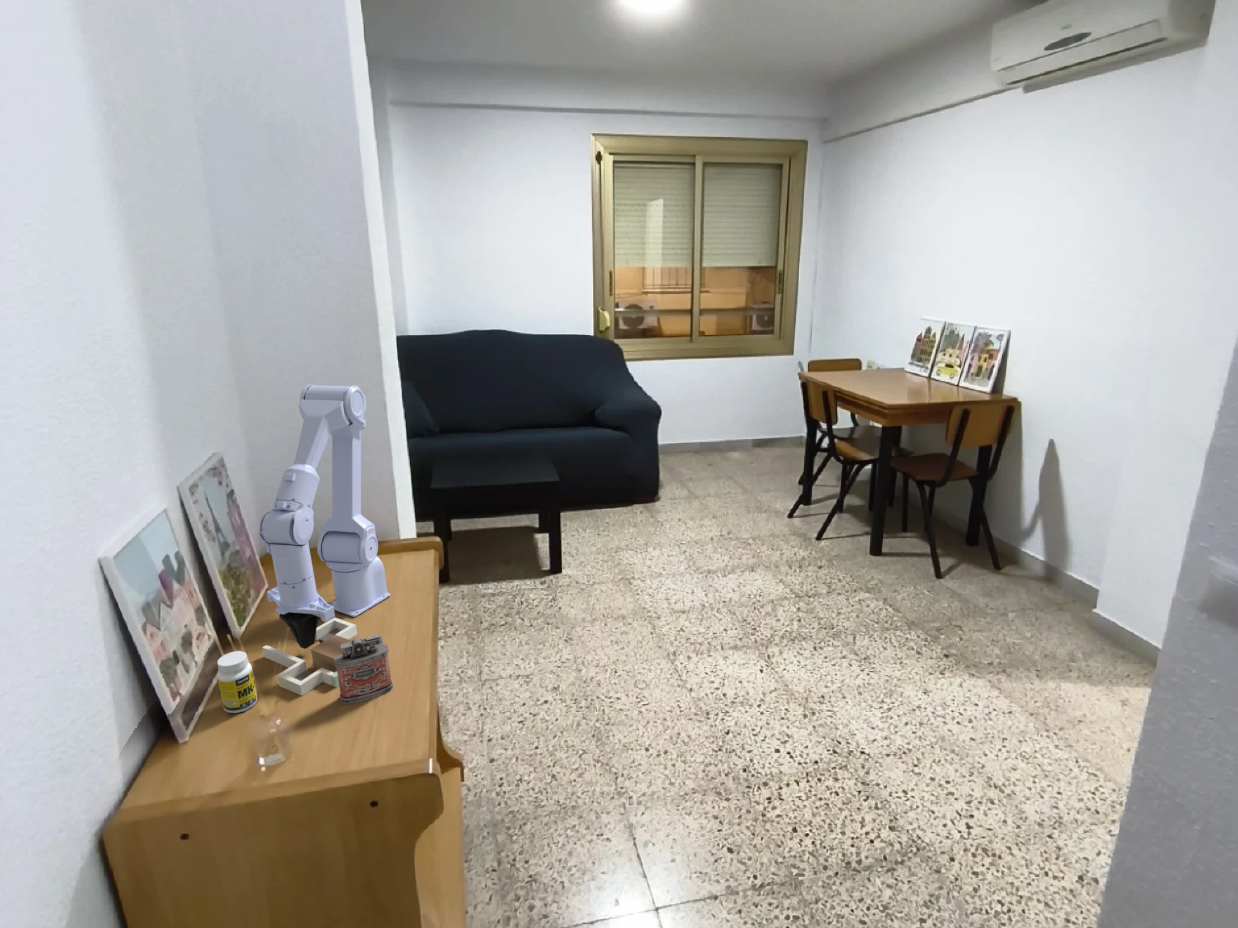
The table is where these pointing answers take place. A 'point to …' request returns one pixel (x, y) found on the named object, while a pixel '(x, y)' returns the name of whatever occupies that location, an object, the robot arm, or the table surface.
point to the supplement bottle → (236, 682)
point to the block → (328, 653)
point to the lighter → (363, 669)
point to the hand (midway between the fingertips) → (307, 645)
